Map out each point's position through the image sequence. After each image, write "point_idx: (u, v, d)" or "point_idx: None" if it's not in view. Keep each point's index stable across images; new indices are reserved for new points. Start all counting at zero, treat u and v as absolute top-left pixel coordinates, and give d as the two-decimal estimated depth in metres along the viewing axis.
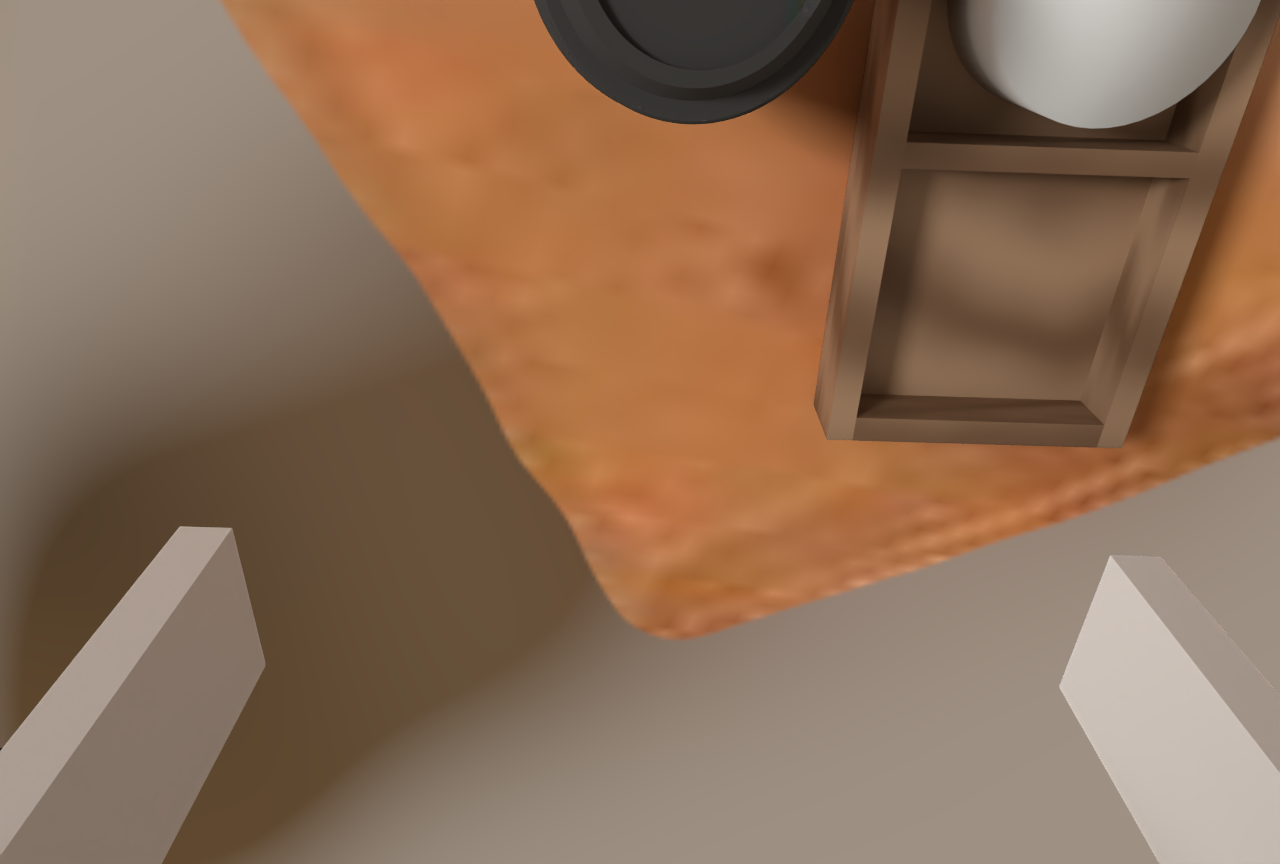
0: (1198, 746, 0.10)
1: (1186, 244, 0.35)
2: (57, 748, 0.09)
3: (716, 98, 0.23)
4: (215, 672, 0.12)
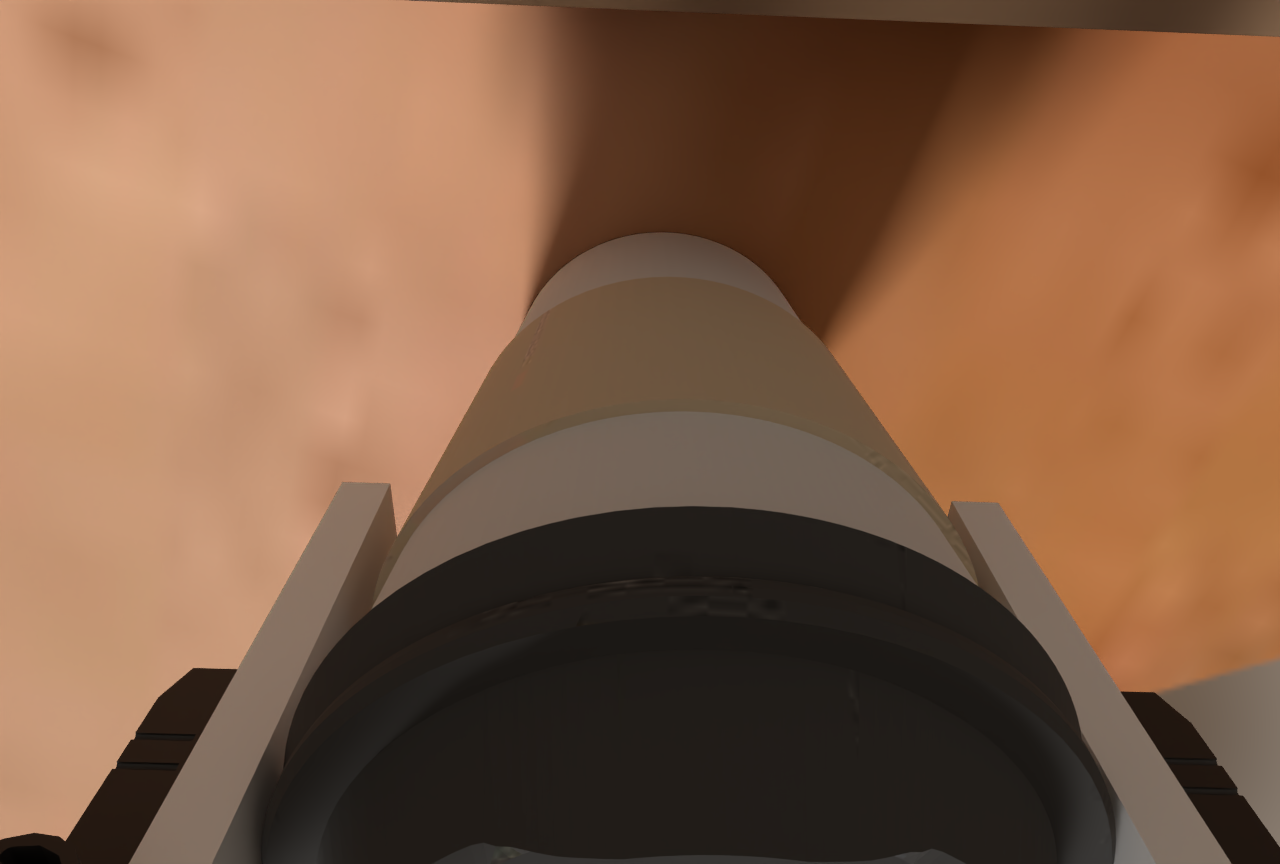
0: None
1: None
2: (288, 663, 0.10)
3: None
4: None
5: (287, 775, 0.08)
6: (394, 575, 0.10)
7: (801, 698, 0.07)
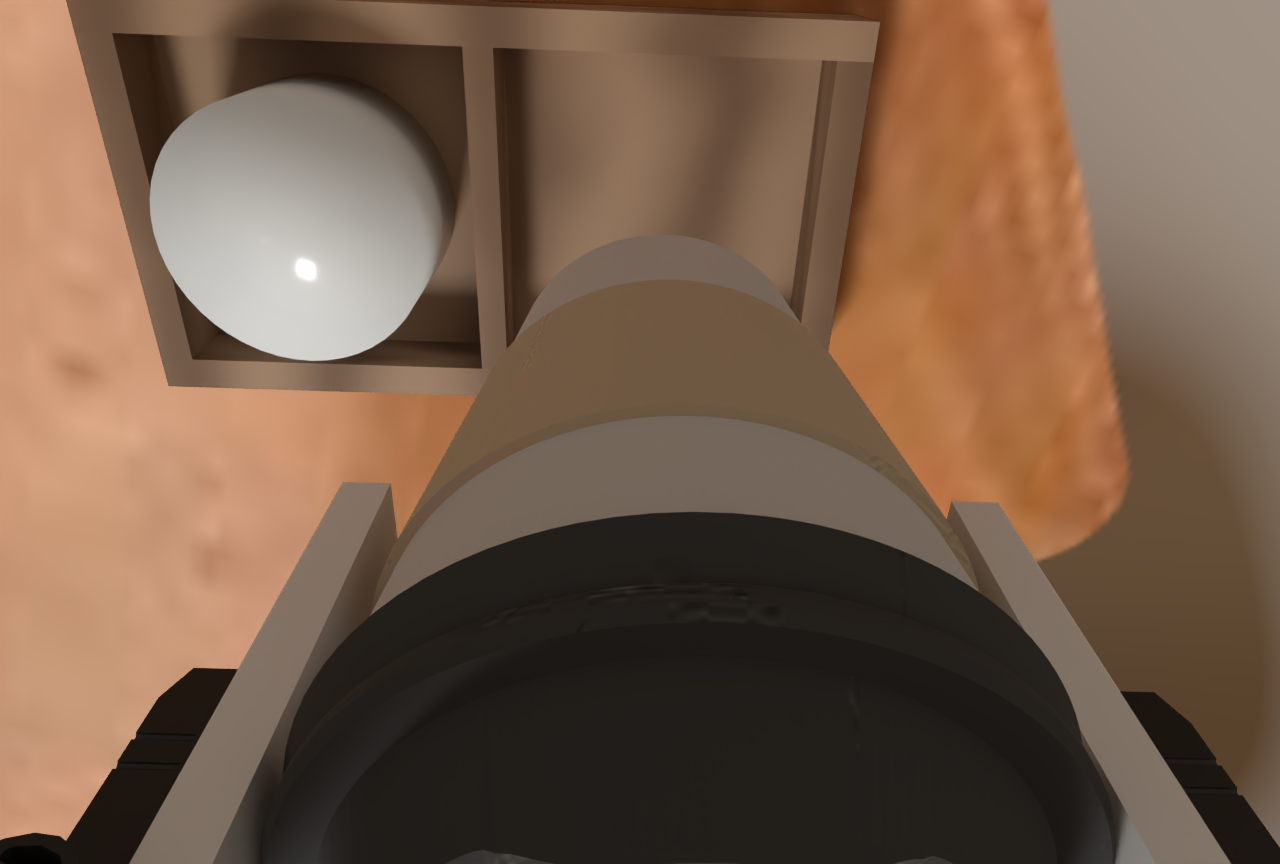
0: None
1: (574, 23, 0.27)
2: (289, 663, 0.10)
3: None
4: None
5: (287, 781, 0.08)
6: (394, 579, 0.10)
7: (801, 705, 0.07)
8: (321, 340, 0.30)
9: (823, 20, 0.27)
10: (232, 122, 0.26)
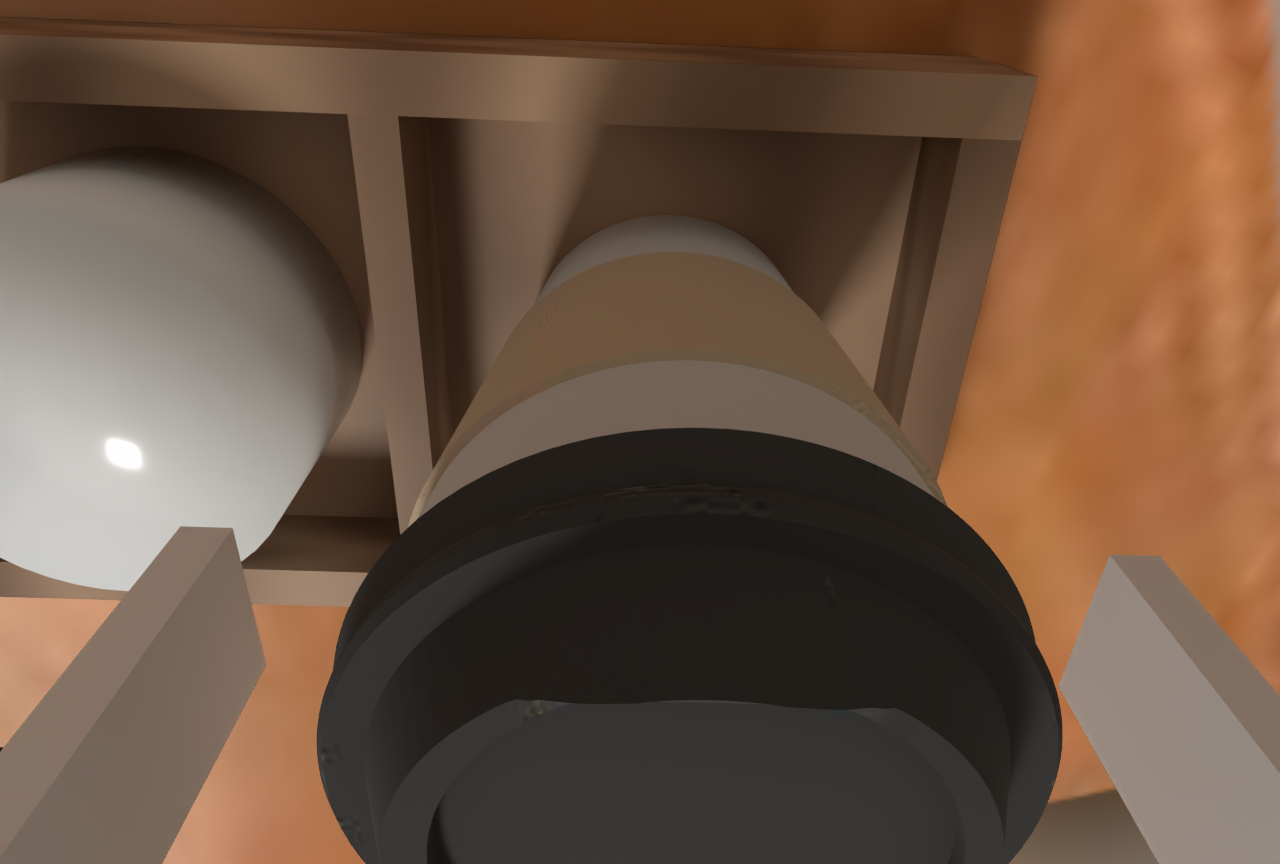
0: (1197, 746, 0.10)
1: (531, 77, 0.17)
2: (58, 747, 0.09)
3: (1011, 767, 0.10)
4: (215, 672, 0.12)
5: (343, 661, 0.09)
6: (430, 502, 0.11)
7: (785, 584, 0.08)
8: (141, 564, 0.19)
9: (943, 73, 0.17)
10: None
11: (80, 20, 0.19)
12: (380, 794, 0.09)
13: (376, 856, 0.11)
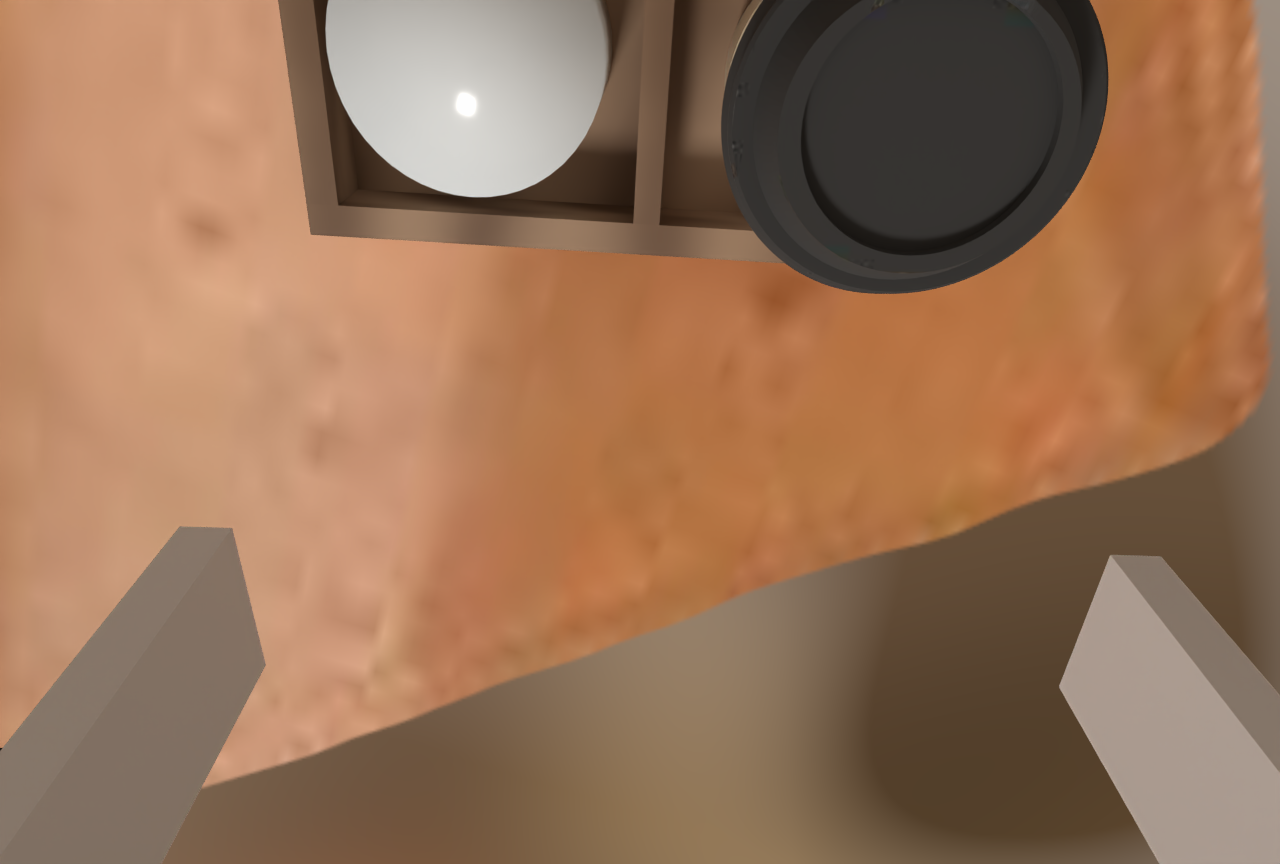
0: (1198, 746, 0.10)
1: None
2: (57, 748, 0.09)
3: (1081, 104, 0.20)
4: (215, 672, 0.12)
5: (762, 24, 0.19)
6: None
7: None
8: (485, 174, 0.29)
9: None
10: None
11: None
12: (785, 79, 0.19)
13: (746, 173, 0.21)
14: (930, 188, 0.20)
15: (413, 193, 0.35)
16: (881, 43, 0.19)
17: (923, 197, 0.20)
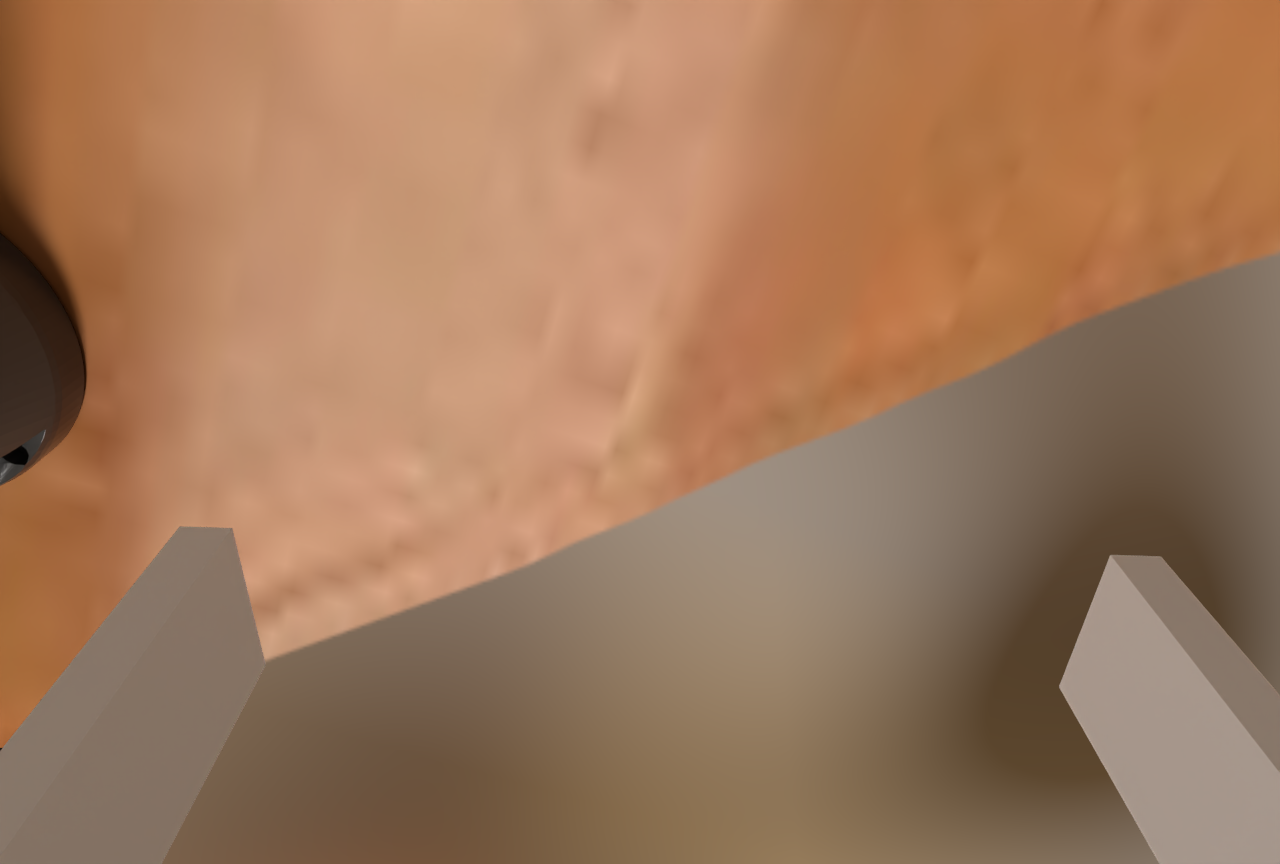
0: (1198, 746, 0.10)
1: None
2: (57, 748, 0.09)
3: None
4: (215, 672, 0.12)
5: None
6: None
7: None
8: None
9: None
10: None
11: None
12: None
13: None
14: None
15: None
16: None
17: None
